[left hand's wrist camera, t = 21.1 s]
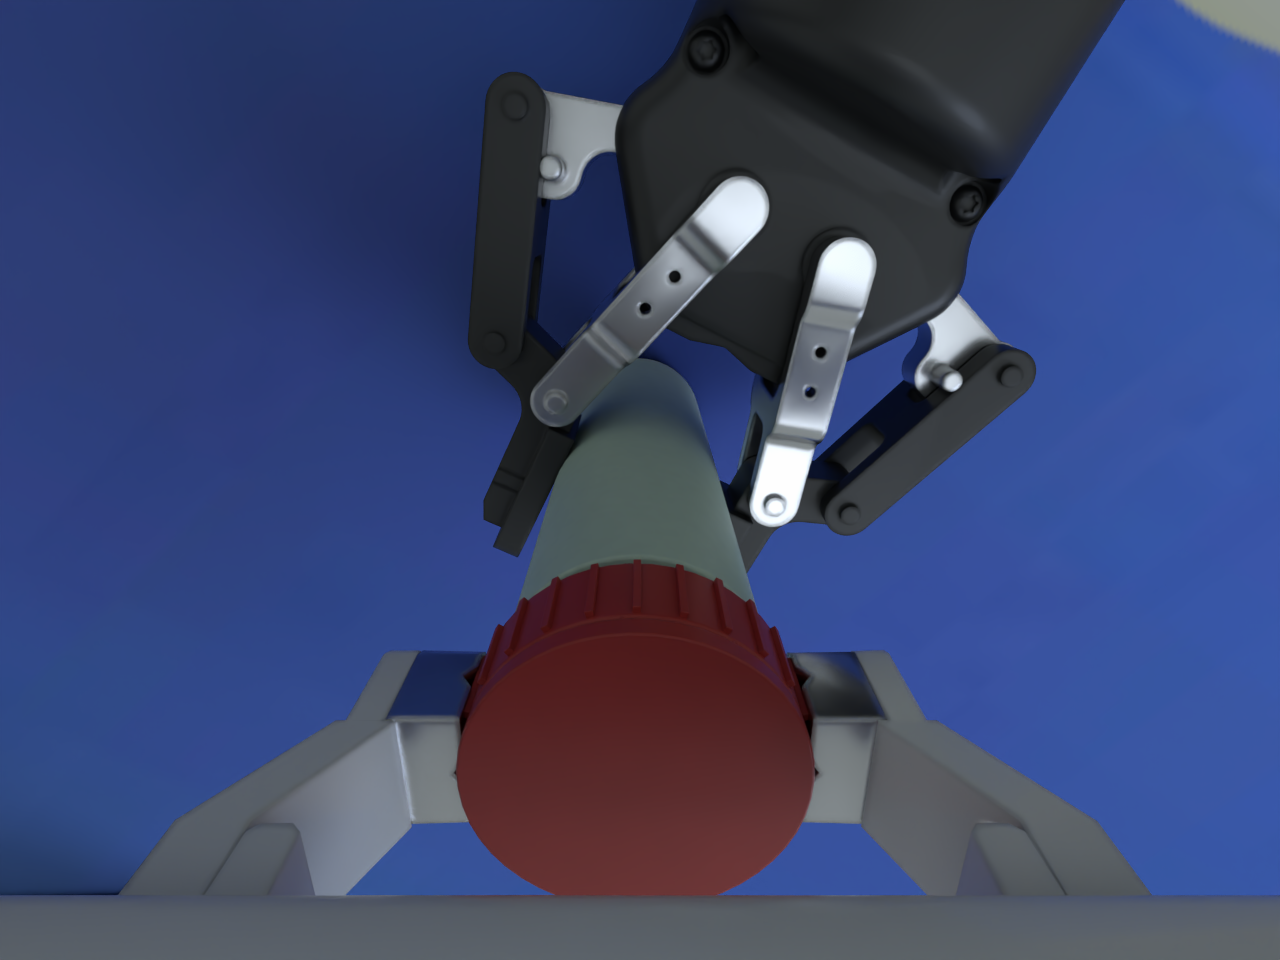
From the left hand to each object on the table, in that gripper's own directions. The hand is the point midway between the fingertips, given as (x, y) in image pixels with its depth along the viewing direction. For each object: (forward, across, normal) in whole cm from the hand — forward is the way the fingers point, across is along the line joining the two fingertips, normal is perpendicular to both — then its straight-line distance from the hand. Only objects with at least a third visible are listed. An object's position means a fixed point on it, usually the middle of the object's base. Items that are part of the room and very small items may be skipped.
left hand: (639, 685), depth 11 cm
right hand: (+8, -1, -2) cm, 8 cm away
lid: (-2, 0, 0) cm, 2 cm away
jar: (+15, 0, 0) cm, 15 cm away
